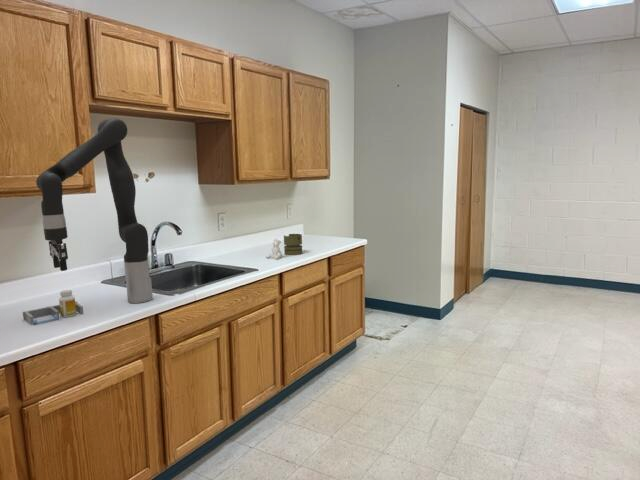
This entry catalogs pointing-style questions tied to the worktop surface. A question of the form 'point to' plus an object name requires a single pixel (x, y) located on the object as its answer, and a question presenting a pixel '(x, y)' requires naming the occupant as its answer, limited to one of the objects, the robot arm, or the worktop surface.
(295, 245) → the olive green ridged block
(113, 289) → the worktop surface
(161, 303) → the worktop surface
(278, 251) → the seated beast figurine
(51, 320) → the light blue flat bar
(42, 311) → the grey two-tier shelf
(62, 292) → the supplement bottle
